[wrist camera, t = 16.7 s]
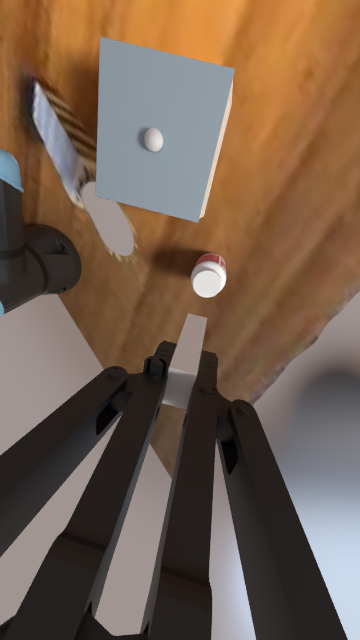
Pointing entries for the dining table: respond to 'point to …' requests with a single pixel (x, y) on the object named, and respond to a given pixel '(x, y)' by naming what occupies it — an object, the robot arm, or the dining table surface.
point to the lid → (157, 127)
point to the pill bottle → (209, 275)
